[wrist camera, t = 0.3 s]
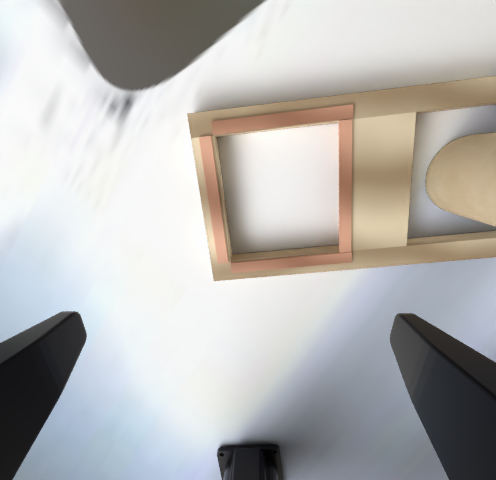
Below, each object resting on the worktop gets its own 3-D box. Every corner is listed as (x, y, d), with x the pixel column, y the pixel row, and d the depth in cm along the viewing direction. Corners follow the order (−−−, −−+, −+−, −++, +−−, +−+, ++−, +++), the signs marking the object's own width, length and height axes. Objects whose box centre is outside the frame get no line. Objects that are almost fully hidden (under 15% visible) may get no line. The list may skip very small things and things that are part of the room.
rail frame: (533, 245, 21) (556, 253, 20) (216, 272, 23) (213, 282, 21) (572, 70, 18) (604, 61, 16) (192, 116, 19) (186, 113, 17)
